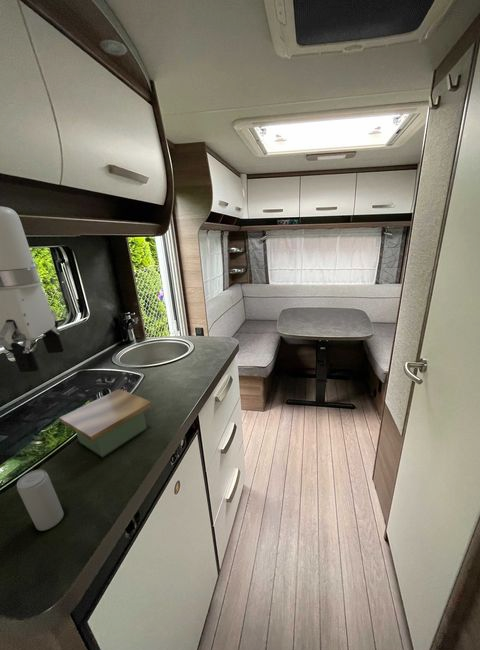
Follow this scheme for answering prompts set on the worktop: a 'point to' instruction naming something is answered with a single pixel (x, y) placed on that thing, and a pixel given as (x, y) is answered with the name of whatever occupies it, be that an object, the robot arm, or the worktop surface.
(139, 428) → the box
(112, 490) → the worktop surface
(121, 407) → the board
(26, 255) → the robot arm
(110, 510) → the worktop surface
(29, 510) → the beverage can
